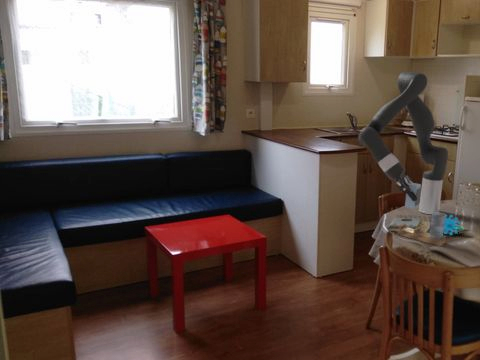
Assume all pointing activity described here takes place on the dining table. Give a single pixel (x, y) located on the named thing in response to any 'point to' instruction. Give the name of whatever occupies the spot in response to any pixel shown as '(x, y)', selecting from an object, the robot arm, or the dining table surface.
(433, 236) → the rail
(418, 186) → the light grey block
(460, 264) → the dining table surface
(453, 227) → the gear
